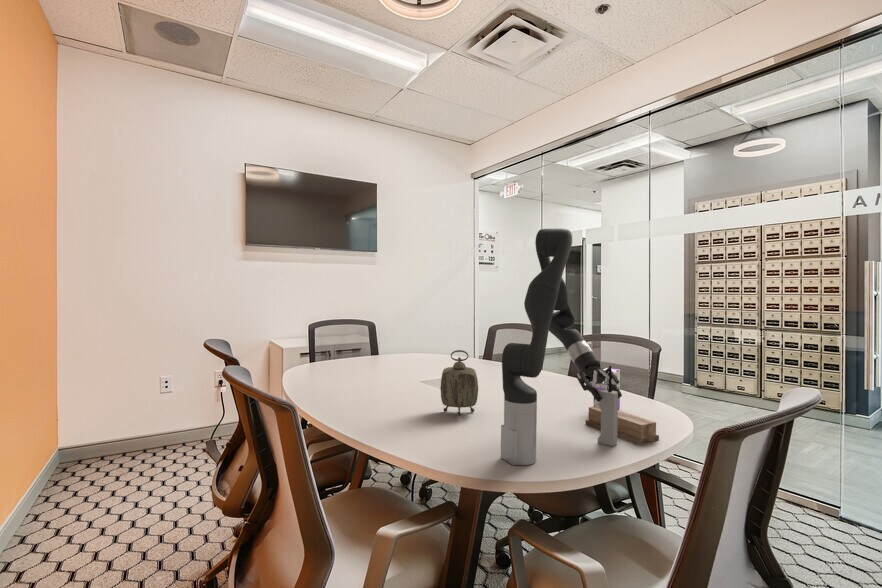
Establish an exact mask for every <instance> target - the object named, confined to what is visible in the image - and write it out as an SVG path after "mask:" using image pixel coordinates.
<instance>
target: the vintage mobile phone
mask: <svg viewBox="0 0 882 588" xmlns="http://www.w3.org/2000/svg"><path fill="white" fill-rule="evenodd" d="M608 368H609V389H608V390H605V389H601V390H599V392H600V394H601V396H602V397H603V399H602V400H601V401H599V406H600V409H601V430H600V435H598V438H597V443H598V444H599V445H605V446H608V447H615V446H616V445H617V444H618V437H617V424H618V410H619V409H618V392H617V391H612V389H611V383H612V381H611V369H612V365H609V367H608Z"/></svg>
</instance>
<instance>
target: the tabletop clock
mask: <svg viewBox="0 0 882 588" xmlns="http://www.w3.org/2000/svg"><path fill="white" fill-rule="evenodd" d="M454 353H464V354H465V355H466V356H467V357H466V358H461V357H460V356H458V358H454V357H453V354H454ZM450 358H451V359H452V360H453V361H455V362H454V363H453V365H452V366H449V367H445V368H443V371H442V373H441V380H440V388H439V390H440V398H441V402H442V405H443V406H445V407H444V408H443V412H444V413H446V412H448V408H450V407H452V408H458V409H457V410H458V411H457V413H456V415H457V416H458V417H460V416H462V413H461V409H462V408H469V409H470V410H469V411H470V412H471V413H474V412H475V408H473V407H475V406H476V403H477V402H478V397H479V381H478V376H477V372H476V369H474V368H472V367H468V366H466V364H465V363H464V361H466V360H468V359H469V353H468V352H467V351H465V350H462V349H459V350H457V349H456V350H454V351H452V352H451V353H450Z"/></svg>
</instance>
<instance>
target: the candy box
mask: <svg viewBox="0 0 882 588" xmlns="http://www.w3.org/2000/svg"><path fill="white" fill-rule="evenodd" d="M607 368H608V367H606V368H604V369H603V368H602V369H603V370H606V369H607ZM611 371H612V372H613V374H614V375H615V376H616V378H617V379H618V380H619V383H618V384H617V387H618V389H619V390H620V391H621V369H619V368H618V369H617V368H611ZM606 380H607V379H606V378H605V381H606ZM612 380H613V381H614V379H612ZM614 382H615V381H614ZM608 383H609V382H608ZM596 388H597V389H598V391H599V390H601V389H605V390H608V389H609V387H607V386H604V385H603V384H596ZM620 401H621V397H620V398H619V399H618V410H620V409H621V405H620V404H621V402H620ZM594 406H599V402H597V400H596V399H595V398H594V397H593V406H592V407H594ZM619 408H620V409H619Z"/></svg>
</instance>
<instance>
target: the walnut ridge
mask: <svg viewBox="0 0 882 588" xmlns="http://www.w3.org/2000/svg"><path fill="white" fill-rule="evenodd" d="M593 406H594V405H593ZM593 406H589V407H588V419H586V420H585V425H586V424H587V425H586V426H588V425H589V426H588V427H591V428H594V429H596V430H599V431H601V409H600V406H594V407H593ZM617 438H620V439H622V440H624V441H628V442H630V443H633V444H635V445H637V446H639V445H642V444H646V443H651V442H652V443H653V442H657V441H659V440H660V435H659V434H657V422H656V421H654V420H651V419H647V418H644V417H640V416H638V415H635V414H631V413H628V412H625V411H622V410H620V409H618V424H617Z"/></svg>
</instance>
